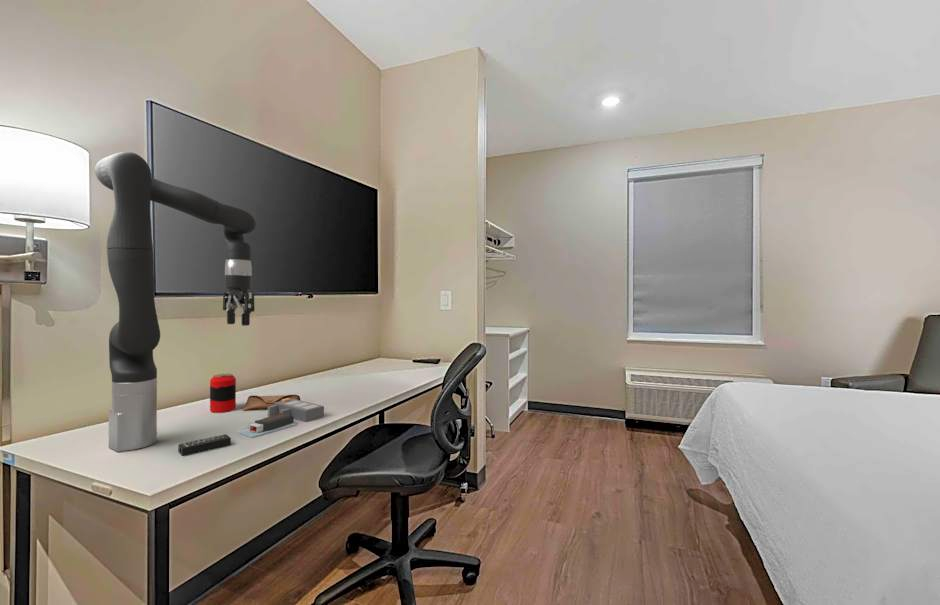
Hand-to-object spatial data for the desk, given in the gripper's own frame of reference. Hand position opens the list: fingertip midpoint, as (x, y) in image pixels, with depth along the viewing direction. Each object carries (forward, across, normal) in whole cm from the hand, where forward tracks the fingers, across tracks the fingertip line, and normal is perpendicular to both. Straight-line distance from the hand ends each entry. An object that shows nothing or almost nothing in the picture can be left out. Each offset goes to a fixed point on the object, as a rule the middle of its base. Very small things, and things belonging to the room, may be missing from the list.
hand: (238, 324), depth 133 cm
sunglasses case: (+31, -3, +14) cm, 34 cm away
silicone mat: (+30, +18, -1) cm, 35 cm away
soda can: (+30, -13, +2) cm, 33 cm away
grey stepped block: (+30, +13, +12) cm, 35 cm away
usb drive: (+30, +18, 0) cm, 35 cm away
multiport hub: (+31, +20, -19) cm, 41 cm away
